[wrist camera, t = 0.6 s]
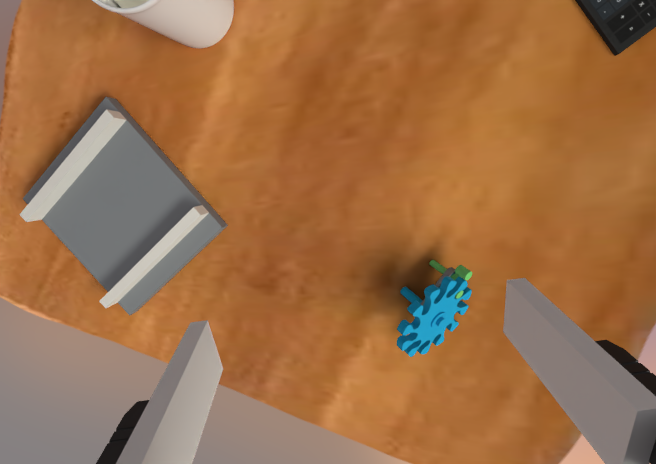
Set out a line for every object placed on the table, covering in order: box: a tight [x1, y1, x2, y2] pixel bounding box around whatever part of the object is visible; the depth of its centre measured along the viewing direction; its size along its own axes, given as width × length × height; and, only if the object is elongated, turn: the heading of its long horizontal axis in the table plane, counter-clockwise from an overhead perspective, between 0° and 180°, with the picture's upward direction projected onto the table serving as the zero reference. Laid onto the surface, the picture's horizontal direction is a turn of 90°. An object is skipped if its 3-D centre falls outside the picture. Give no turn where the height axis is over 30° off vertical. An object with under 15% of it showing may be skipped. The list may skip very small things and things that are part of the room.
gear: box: [397, 260, 472, 357], centre depth 39 cm, size 11×6×10 cm
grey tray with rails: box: [20, 97, 228, 315], centre depth 43 cm, size 20×18×4 cm
